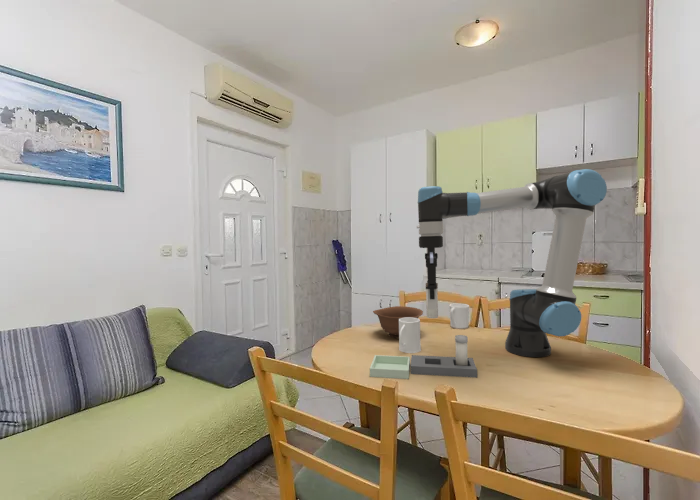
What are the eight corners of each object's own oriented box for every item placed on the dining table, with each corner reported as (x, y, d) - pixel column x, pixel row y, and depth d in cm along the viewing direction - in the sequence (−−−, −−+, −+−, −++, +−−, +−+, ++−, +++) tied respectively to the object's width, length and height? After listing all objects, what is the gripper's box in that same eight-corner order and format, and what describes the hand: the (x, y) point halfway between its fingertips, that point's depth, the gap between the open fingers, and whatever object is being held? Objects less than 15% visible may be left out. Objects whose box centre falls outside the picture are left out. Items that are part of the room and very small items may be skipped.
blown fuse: (438, 315, 113) (437, 282, 113) (438, 318, 109) (437, 284, 109) (426, 315, 114) (425, 282, 113) (426, 318, 110) (425, 284, 110)
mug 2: (456, 323, 169) (456, 302, 169) (473, 326, 162) (472, 305, 162) (443, 327, 162) (442, 306, 162) (460, 331, 155) (459, 308, 155)
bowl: (366, 331, 160) (365, 308, 159) (409, 326, 166) (408, 304, 166) (385, 345, 139) (384, 318, 138) (433, 339, 145) (432, 313, 145)
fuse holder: (472, 366, 115) (472, 332, 114) (477, 379, 105) (476, 342, 104) (411, 363, 119) (411, 330, 118) (410, 375, 109) (410, 339, 108)
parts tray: (410, 365, 117) (409, 356, 117) (408, 380, 105) (408, 370, 105) (375, 363, 119) (374, 355, 119) (369, 378, 108) (369, 368, 108)
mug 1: (408, 358, 124) (407, 325, 123) (389, 353, 129) (388, 322, 129) (425, 349, 132) (424, 319, 132) (406, 345, 138) (406, 316, 138)
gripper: (419, 235, 119) (420, 302, 120) (418, 236, 103) (420, 313, 104) (441, 234, 118) (442, 302, 119) (444, 235, 101) (445, 313, 102)
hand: (432, 307), depth 111 cm, fingers closed on blown fuse, 4 cm apart
